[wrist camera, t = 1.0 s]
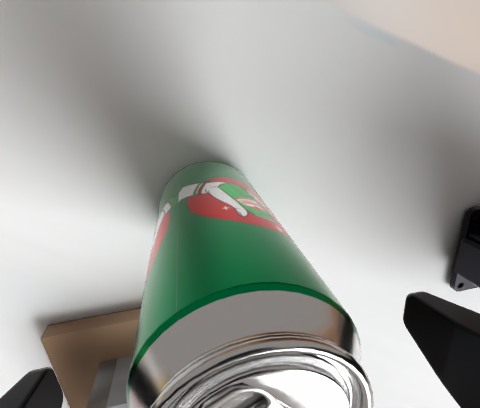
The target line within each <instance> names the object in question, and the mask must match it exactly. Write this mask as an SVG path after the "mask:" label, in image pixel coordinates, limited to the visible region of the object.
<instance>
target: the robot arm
mask: <svg viewBox="0 0 480 408" xmlns="http://www.w3.org/2000/svg"><path fill="white" fill-rule="evenodd" d="M450 287H451V288H453V289H454V290H455V291H463V290H468V289H472V288H477V287H479V288H480V206H476V207H472V208H470V209H468V210H467V212H466V213H465V217H464V221H463V226H462V230H461V235H460V240H459V244H458V249H457V253H456V258H455V263H454V267H453V272H452V276H451V281H450ZM403 320H404V324H405V326H406V328H407V330H408V331H409V333H410V334H411V336H412V337H413V339H414V341H415V342H416V344H417V345H418V347H419V348H420V350H421V351H422V353H423V355H424V356H425V358H426V359H427V361H428V362H429V364H430V365H431V367H432V369H433V370H434V372H435V373H436V375H437V376H438V378H439V379H440V381H441V382H442V383H443V385H444V386H445V388H446V389H447V390H448V392H449V393H450V394H451V396H452V397H453V398H454V399H455V401H456V402H457V403H458V405H459V406H460V407H461V408H480V314H479V313H477V312H474V311H472V310H469V309H466V308H464V307H461V306H459V305H456V304H454V303H451V302H449V301H446V300H444V299H441V298H439V297H436V296H434V295H431V294H429V293H426V292H416V293H411V294H408V296H407V297H406V302H405V308H404V315H403ZM62 402H63V393H62V389H61V387H60V385H59V382H58V380H57V378H56V375H55V373H54V371H53V369H51V368H50V367H46V368H41V369H36V370H32V371H30V372H28V373H27V374H26V375H25V376H24V377H23V378H22V379H21V380H19V381H18V382H17V383H16V384H15V385H14V386H13V387H12V388H11V389H10V390H9V391H8V392H7V393H6V394H4V395H3V396H2V397H1V398H0V408H61V407H62Z"/></svg>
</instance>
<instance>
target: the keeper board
mask: <svg viewBox="0 0 480 408" xmlns="http://www.w3.org/2000/svg"><path fill="white" fill-rule="evenodd" d="M140 310H141V308H138V309H133V310H127V311H122V312H117V313H111V314H106V315H101V316H95V317H90V318H84V319H79V320H74V321H68V322H63V323H58V324H52V325H48V326H47V328H46V330H45V332H44V333H43V335H42V337H41V341H42V343H43V345H44V348H45V350H46V352H47V355H48V357H49V359H50V362H51V364H52V366H53V369H54V371H55V373H56V375H57V378H58V380H59V382H60V385H61V387H62V389H63V392H64V394H65V396H66V399H67V401H68V403H69V406H70V408H128V404H127V391H126V385H127V380H128V375H129V369H130V364H131V358H132V353H133V348H134V342H135V337H136V331H137V326H138V320H139V315H140Z"/></svg>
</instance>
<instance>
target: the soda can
mask: <svg viewBox="0 0 480 408" xmlns="http://www.w3.org/2000/svg"><path fill="white" fill-rule="evenodd" d="M126 391H127V404H128V408H373V392H372V389H371V385H370V382H369V379H368V376H367V374H366V372H365V371H364V369H363V367H362V366H361V349H360V340H359V336H358V332H357V329H356V327H355V325H354V323H353V321H352V319H351V318H350V316H349V315H348V313H347V312H346V311H345V309H344V308H343V307H342V305H341V304H340V303H339V301H338V300H337V299H336V297H335V296H334V295H333V293H332V292H331V291H330V289H329V288H328V287H327V285H326V284H325V283H324V281H323V280H322V279H321V277H320V276H319V275H318V273H317V272H316V271H315V269H314V268H313V267H312V265H311V264H310V263H309V261H308V260H307V259H306V257H305V256H304V255H303V253H302V252H301V251H300V249H299V248H298V247H297V245H296V244H295V243H294V241H293V240H292V239H291V237H290V236H289V235H288V233H287V232H286V231H285V229H284V228H283V227H282V225H281V224H280V223H279V221H278V220H277V219H276V217H275V216H274V215H273V213H272V212H271V211H270V209H269V208H268V207H267V205H266V204H265V203H264V201H263V200H262V199H261V197H260V196H259V195H258V194H257V192H256V191H255V190H254V188H253V187H252V186H251V184H250V183H249V182H248V180H247V179H246V178H245V177H244V175H242V174H241V173H240V172H239V171H238V170H236V169H234V168H233V167H231V166H229V165H226V164H223V163H219V162H200V163H196V164H192V165H190V166H187V167H185V168H184V169H182V170H180V171H179V172H178V173H176V174H175V175H174V176H173V177H172V178H171V179H170V181H169V182H168V183H167V185H166V187H165V188H164V191H163V193H162V196H161V201H160V207H159V212H158V217H157V223H156V228H155V234H154V239H153V245H152V250H151V255H150V261H149V266H148V272H147V277H146V282H145V288H144V293H143V299H142V304H141V310H140V315H139V320H138V326H137V331H136V337H135V342H134V348H133V353H132V358H131V364H130V369H129V375H128V380H127V385H126Z"/></svg>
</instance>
